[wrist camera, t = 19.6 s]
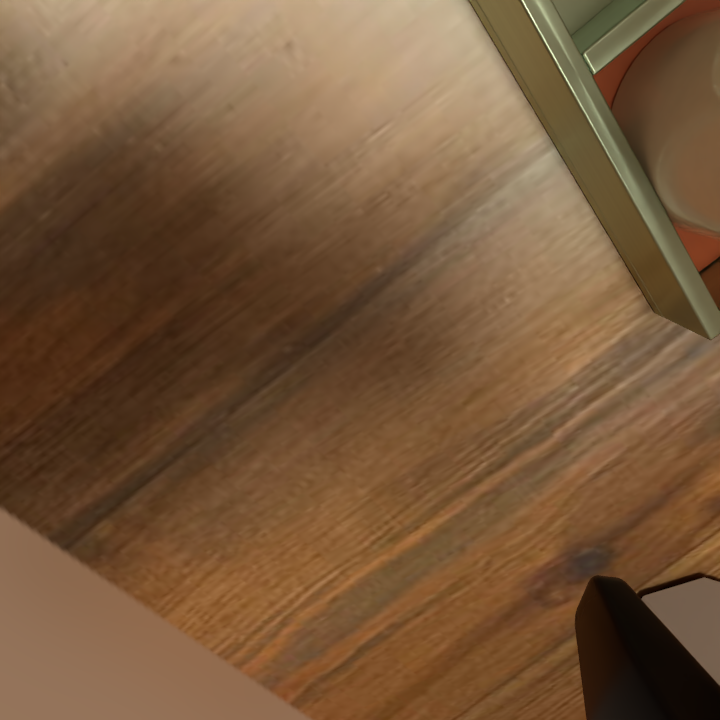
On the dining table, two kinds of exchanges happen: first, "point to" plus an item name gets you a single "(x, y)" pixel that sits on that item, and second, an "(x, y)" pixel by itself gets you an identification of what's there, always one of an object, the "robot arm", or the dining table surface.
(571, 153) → the tray
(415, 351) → the dining table surface
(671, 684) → the robot arm
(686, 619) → the flask
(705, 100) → the jar
